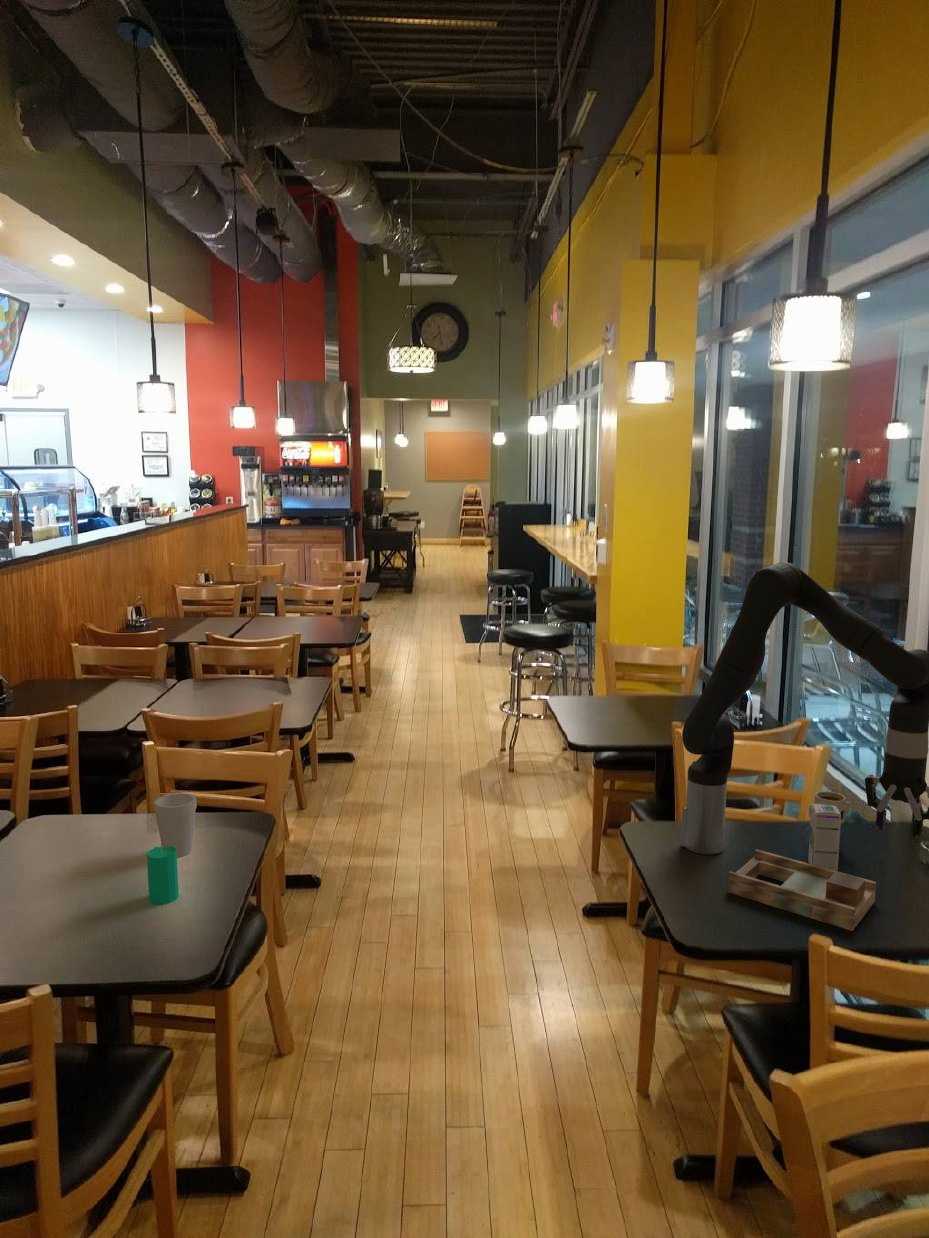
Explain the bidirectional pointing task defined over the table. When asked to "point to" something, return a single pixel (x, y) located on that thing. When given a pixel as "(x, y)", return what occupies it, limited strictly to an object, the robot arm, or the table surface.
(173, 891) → the candle
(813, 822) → the syrup box
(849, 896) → the walnut block
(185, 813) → the foam cup
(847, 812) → the character mug
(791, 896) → the tray
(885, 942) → the table surface
